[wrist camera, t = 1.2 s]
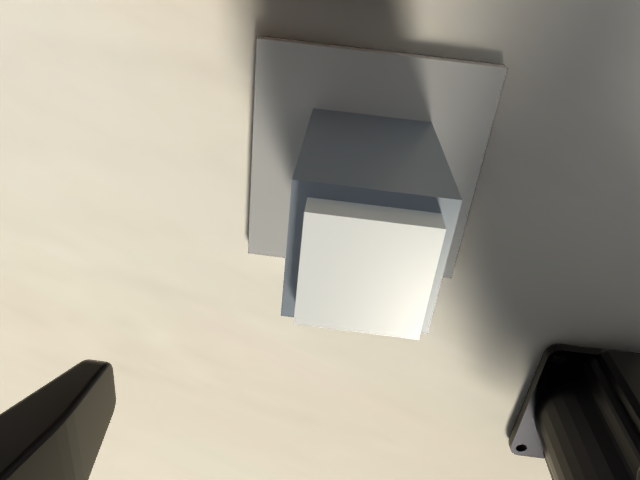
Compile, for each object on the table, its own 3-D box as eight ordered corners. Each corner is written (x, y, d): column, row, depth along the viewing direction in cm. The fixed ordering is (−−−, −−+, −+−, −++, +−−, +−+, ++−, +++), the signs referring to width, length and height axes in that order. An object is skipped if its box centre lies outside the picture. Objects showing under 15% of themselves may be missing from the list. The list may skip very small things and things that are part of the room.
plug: (409, 227, 20) (431, 354, 14) (303, 213, 20) (276, 334, 14) (431, 122, 18) (468, 215, 12) (313, 107, 18) (287, 193, 12)
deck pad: (449, 271, 21) (451, 278, 21) (250, 246, 21) (248, 253, 21) (503, 65, 17) (507, 68, 17) (259, 35, 17) (256, 38, 17)
